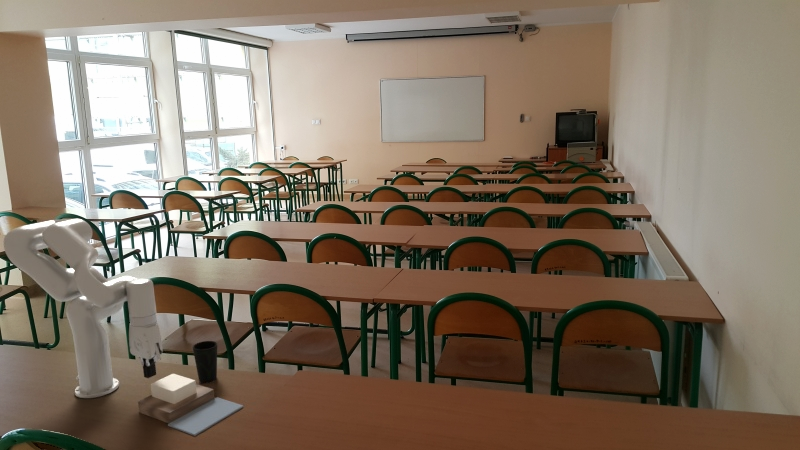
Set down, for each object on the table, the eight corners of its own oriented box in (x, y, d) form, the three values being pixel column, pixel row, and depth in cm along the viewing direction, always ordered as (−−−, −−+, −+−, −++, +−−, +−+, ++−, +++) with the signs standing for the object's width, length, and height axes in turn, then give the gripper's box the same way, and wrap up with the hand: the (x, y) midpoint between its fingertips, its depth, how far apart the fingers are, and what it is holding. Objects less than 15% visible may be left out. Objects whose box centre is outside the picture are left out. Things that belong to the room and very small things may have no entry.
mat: (167, 425, 163) (167, 424, 163) (217, 398, 178) (217, 397, 178) (194, 436, 157) (194, 434, 157) (243, 407, 172) (243, 405, 172)
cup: (212, 385, 187) (209, 350, 184) (191, 383, 188) (187, 349, 186) (224, 375, 194) (221, 341, 192) (203, 373, 196) (200, 340, 193)
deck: (139, 412, 170) (137, 401, 170) (183, 389, 184) (182, 379, 183) (170, 424, 164) (169, 412, 163) (214, 400, 177) (213, 389, 176)
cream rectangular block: (151, 396, 173) (150, 383, 172) (174, 385, 179) (173, 373, 179) (174, 404, 168) (173, 391, 167) (196, 392, 175) (195, 380, 174)
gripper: (117, 319, 176) (124, 376, 179) (148, 327, 168) (155, 386, 171) (138, 312, 182) (145, 367, 185) (170, 319, 174) (176, 376, 178)
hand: (150, 376), depth 178 cm, fingers closed
